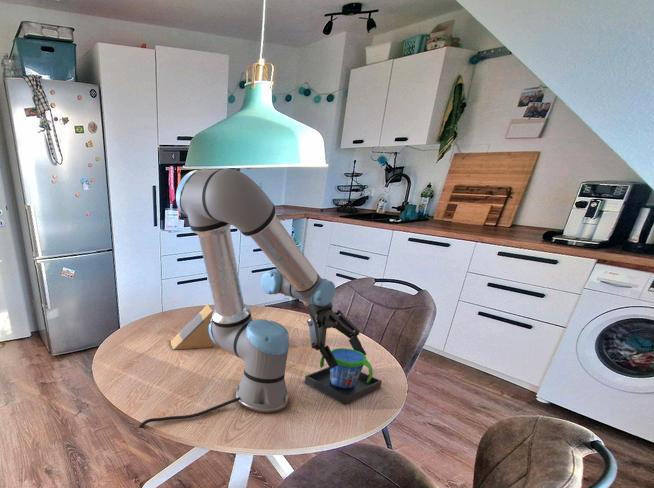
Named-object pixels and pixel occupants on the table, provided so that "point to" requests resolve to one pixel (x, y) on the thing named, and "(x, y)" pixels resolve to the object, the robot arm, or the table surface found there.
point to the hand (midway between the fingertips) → (348, 361)
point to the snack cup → (347, 367)
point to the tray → (345, 396)
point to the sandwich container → (195, 332)
